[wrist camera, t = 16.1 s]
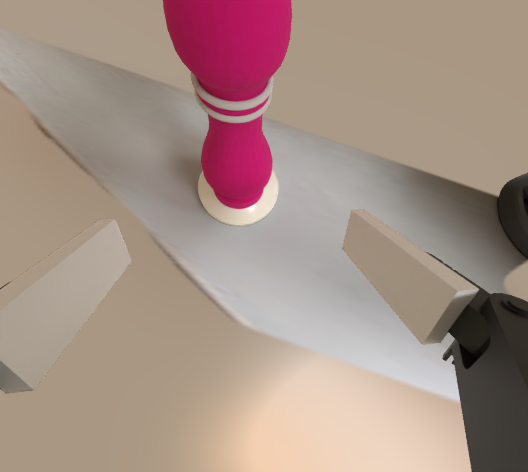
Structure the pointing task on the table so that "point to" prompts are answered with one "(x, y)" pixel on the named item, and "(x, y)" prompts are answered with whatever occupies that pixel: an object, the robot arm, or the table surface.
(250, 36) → the pepper mill
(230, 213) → the cream dome
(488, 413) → the robot arm
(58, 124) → the table surface
